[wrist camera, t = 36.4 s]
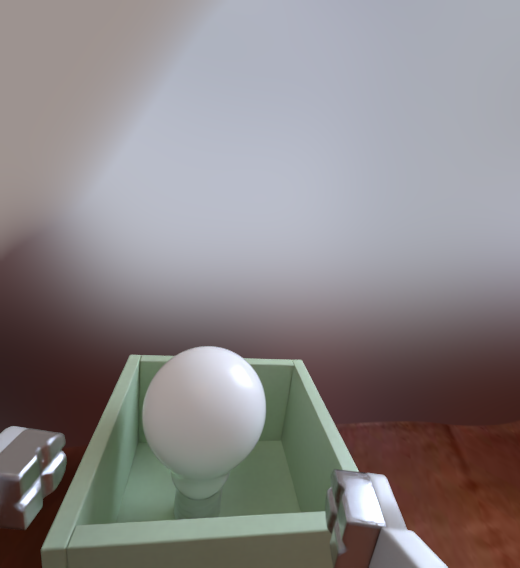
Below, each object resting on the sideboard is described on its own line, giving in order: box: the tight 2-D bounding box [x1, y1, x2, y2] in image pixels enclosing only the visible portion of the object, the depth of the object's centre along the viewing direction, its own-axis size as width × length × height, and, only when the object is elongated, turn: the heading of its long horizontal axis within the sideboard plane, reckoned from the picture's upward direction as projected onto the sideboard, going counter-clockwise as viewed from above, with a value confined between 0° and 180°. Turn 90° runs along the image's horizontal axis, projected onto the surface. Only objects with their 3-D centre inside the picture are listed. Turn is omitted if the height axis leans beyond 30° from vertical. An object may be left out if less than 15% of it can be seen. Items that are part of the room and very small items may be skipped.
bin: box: [41, 355, 359, 568], centre depth 19 cm, size 13×13×8 cm
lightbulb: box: [142, 346, 266, 520], centre depth 18 cm, size 6×6×11 cm
